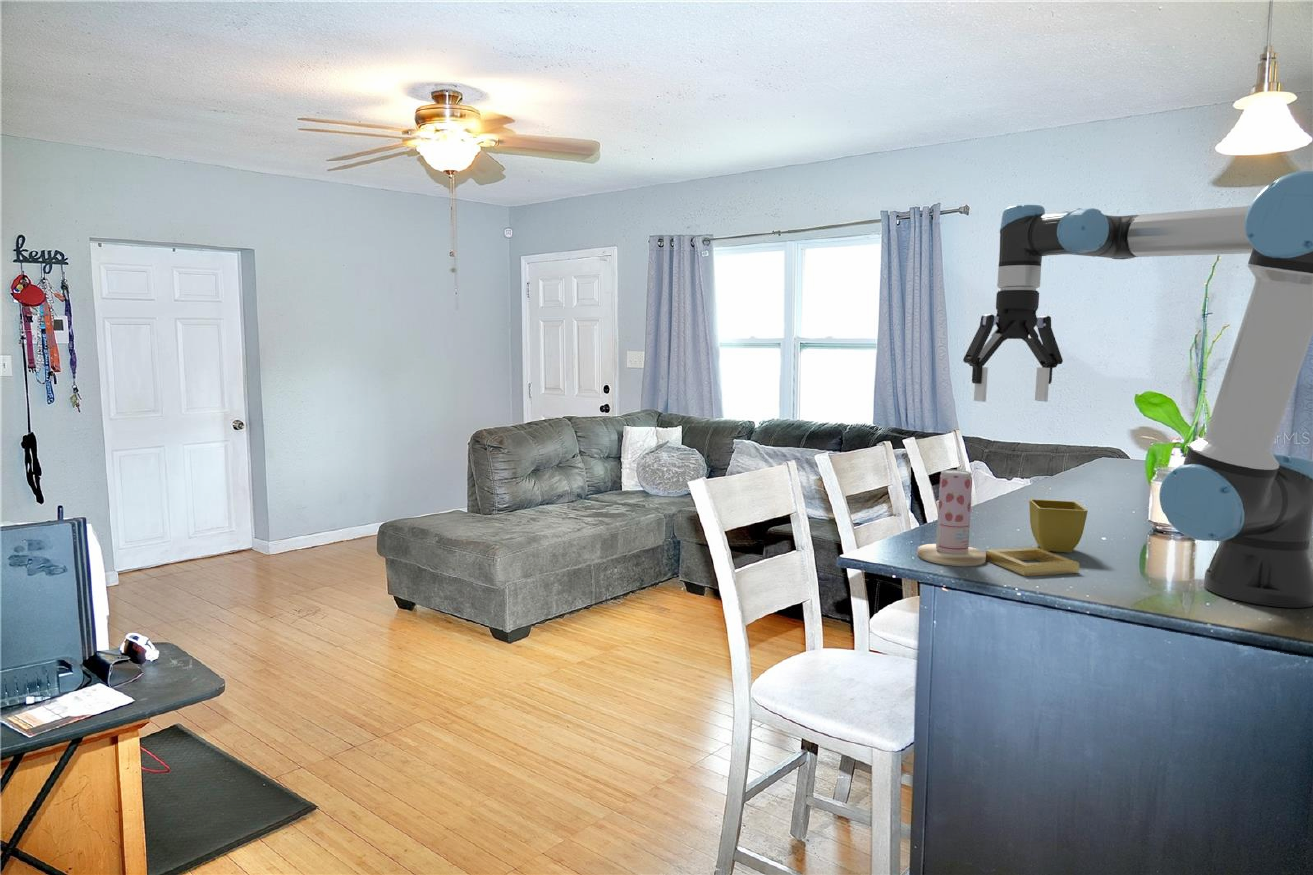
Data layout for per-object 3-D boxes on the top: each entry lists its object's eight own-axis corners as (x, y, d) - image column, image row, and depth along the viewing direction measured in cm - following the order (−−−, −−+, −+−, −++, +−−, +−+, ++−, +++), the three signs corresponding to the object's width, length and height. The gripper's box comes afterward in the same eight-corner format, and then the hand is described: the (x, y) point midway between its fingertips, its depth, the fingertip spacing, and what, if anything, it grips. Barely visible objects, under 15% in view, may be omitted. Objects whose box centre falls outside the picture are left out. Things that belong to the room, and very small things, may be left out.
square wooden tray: (1078, 572, 150) (1079, 562, 149) (1024, 576, 147) (1024, 565, 147) (1036, 557, 160) (1037, 547, 160) (985, 559, 158) (985, 550, 157)
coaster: (999, 564, 154) (999, 558, 154) (940, 567, 151) (940, 561, 151) (960, 548, 166) (961, 542, 166) (905, 551, 163) (905, 544, 163)
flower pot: (1085, 556, 161) (1088, 510, 160) (1035, 553, 163) (1039, 507, 162) (1072, 545, 170) (1075, 501, 169) (1025, 543, 171) (1028, 499, 170)
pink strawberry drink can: (959, 556, 154) (964, 475, 153) (930, 550, 158) (934, 471, 157) (973, 551, 158) (978, 472, 157) (944, 546, 162) (949, 468, 161)
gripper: (1060, 292, 169) (1052, 399, 171) (948, 288, 163) (942, 399, 165) (1088, 290, 161) (1079, 402, 164) (972, 286, 155) (965, 402, 158)
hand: (1010, 401), depth 165 cm, fingers open, 13 cm apart
